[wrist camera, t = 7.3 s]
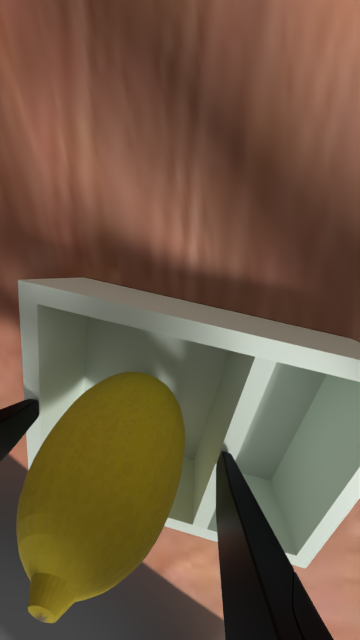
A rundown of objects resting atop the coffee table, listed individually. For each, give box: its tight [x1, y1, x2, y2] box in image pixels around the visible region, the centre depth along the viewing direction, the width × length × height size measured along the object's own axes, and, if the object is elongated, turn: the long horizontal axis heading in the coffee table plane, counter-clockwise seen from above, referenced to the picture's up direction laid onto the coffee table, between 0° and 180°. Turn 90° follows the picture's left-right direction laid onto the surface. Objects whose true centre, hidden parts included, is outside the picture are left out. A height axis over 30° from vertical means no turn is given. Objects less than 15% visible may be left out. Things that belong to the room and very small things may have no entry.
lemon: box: [17, 372, 185, 623], centre depth 8 cm, size 6×6×8 cm
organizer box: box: [18, 277, 360, 569], centre depth 10 cm, size 16×12×4 cm
